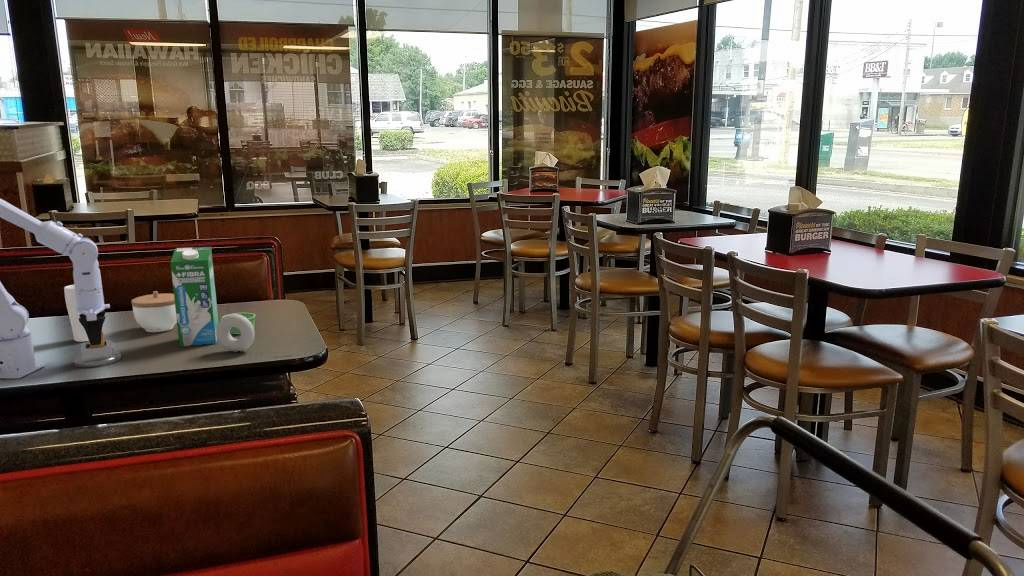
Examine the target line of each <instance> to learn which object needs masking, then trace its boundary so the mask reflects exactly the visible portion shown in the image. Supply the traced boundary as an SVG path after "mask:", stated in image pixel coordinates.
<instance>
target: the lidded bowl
mask: <svg viewBox="0 0 1024 576" xmlns="http://www.w3.org/2000/svg"><path fill="white" fill-rule="evenodd" d="M130 301H131V306H132V311H133V316H134V320H135V322H137V324H138V325H139V327H141V328H143V329H144V330H145V332H147V333H162V332H166V331H170V330H173V329H174V326H175V325H177V319H176V309H175V300H174V293H159V291H157V290H155V291H154V290H153V291H152V293H151V294H145V295H142V296H137V297H135V298H133V299H131V300H130Z"/></svg>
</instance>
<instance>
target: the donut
mask: <svg viewBox="0 0 1024 576" xmlns="http://www.w3.org/2000/svg"><path fill="white" fill-rule="evenodd" d="M229 314H230V315H228V314H226V315H227V316H225V315H224V316H225V317H223V316H222V317H223V318H222V317H221V319H219V320H218V325H217V327H216V335H217V342H218V343H219V344H220V345H221V346H222V347H223V348H224V349H226V350H227V351H230V352H233V351H234V352H233V353H238V352H237V351H240V352H244V351H246V350H247V349H249V348H250V346H252V344H253V343H254V341H255V335H256V333H255V329H254V327H253V325H252V324H251V322H250V321H249V320H248V319H247V318H246V317H244V316H242V315H239V314H233V313H229ZM232 327H237V328H238V329H239V330H240V332H241V334H240V335H239V338H235V337H233V335H232V334H230V329H231V328H232Z"/></svg>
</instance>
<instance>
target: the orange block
mask: <svg viewBox="0 0 1024 576" xmlns="http://www.w3.org/2000/svg"><path fill="white" fill-rule="evenodd" d="M104 338H105V337H104V328H102V337H101V344H100V345H92V346H91V344H90V348H93V347H101V346H104V341H105V339H104Z"/></svg>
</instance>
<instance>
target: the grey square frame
mask: <svg viewBox="0 0 1024 576" xmlns="http://www.w3.org/2000/svg"><path fill="white" fill-rule="evenodd" d="M80 345H81V346H80V352H81V353H80V354H81V355H77V356H76V357H75V358H74V359H73V360H74V365H75V367H77V368H84V369H85V368H99V367H103V366H109V365H113V364H115V363H117V362H119V361H121V360H122V356H121V355H122V353H121V352H120V351H117V350H113V348H112V341H111V339H108V340H107V339H106V340H104V346H101V347H93V348H90V342H83V343H82V342H81V344H80Z"/></svg>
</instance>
